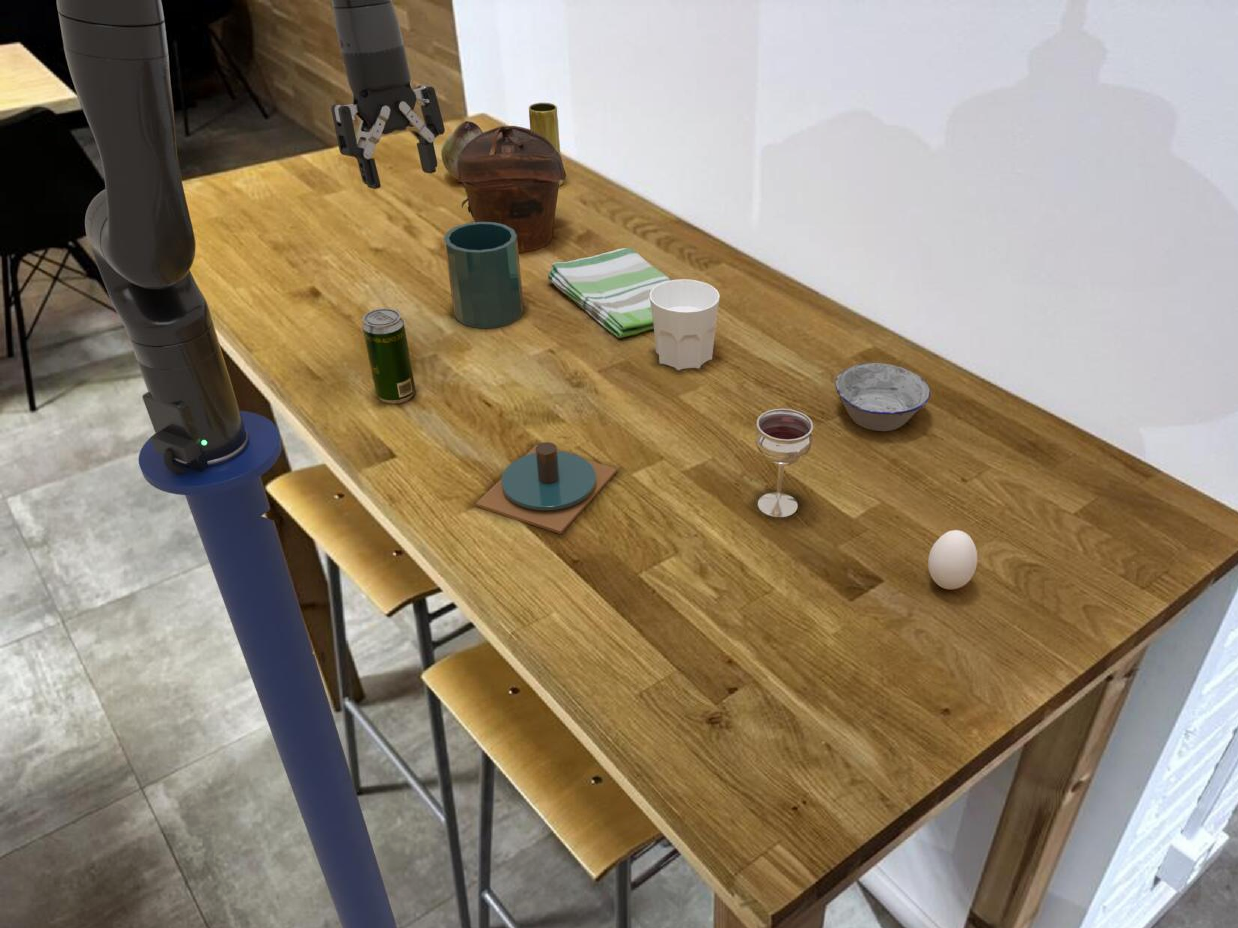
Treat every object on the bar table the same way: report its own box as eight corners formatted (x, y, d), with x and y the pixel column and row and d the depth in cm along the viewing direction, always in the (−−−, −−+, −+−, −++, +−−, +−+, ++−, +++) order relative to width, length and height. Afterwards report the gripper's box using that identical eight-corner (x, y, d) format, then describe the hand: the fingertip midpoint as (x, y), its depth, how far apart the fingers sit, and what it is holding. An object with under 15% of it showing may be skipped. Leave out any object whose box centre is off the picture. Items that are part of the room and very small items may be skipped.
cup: (709, 336, 165) (711, 277, 158) (723, 370, 157) (726, 309, 151) (645, 341, 163) (644, 281, 156) (656, 376, 155) (656, 314, 149)
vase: (525, 182, 208) (519, 107, 199) (547, 173, 212) (542, 99, 203) (549, 190, 205) (543, 115, 196) (570, 181, 209) (566, 106, 200)
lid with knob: (565, 524, 128) (563, 487, 124) (483, 498, 132) (478, 460, 128) (612, 473, 136) (611, 436, 133) (534, 449, 140) (530, 412, 136)
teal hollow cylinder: (499, 334, 163) (490, 257, 155) (440, 318, 166) (429, 242, 158) (536, 305, 171) (529, 230, 163) (479, 290, 174) (470, 216, 166)
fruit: (462, 193, 203) (454, 129, 195) (433, 178, 208) (424, 115, 200) (506, 179, 209) (499, 116, 201) (476, 165, 214) (469, 103, 206)
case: (521, 206, 199) (512, 107, 188) (591, 240, 189) (586, 138, 178) (440, 233, 189) (425, 131, 178) (510, 271, 179) (499, 165, 168)
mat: (561, 534, 128) (560, 531, 127) (476, 506, 131) (475, 503, 131) (617, 471, 137) (617, 468, 137) (536, 447, 141) (536, 444, 141)
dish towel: (633, 259, 184) (633, 239, 182) (711, 313, 170) (712, 293, 168) (545, 283, 176) (543, 263, 174) (619, 343, 162) (618, 322, 160)
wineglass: (753, 522, 130) (758, 441, 123) (748, 488, 136) (753, 408, 128) (808, 521, 131) (817, 440, 123) (801, 487, 136) (809, 408, 128)
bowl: (881, 453, 142) (885, 422, 139) (812, 411, 150) (816, 381, 147) (943, 419, 149) (949, 389, 146) (875, 380, 156) (879, 351, 153)
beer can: (424, 391, 150) (411, 314, 143) (397, 409, 147) (382, 331, 139) (395, 380, 152) (381, 303, 145) (368, 397, 149) (351, 320, 141)
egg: (931, 563, 126) (942, 513, 121) (975, 577, 124) (988, 526, 119) (917, 591, 122) (928, 540, 117) (963, 606, 120) (976, 555, 115)
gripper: (336, 56, 125) (371, 197, 134) (437, 36, 133) (464, 170, 142) (304, 53, 129) (339, 189, 138) (403, 34, 138) (431, 164, 147)
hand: (402, 179), depth 140 cm, fingers open, 8 cm apart
